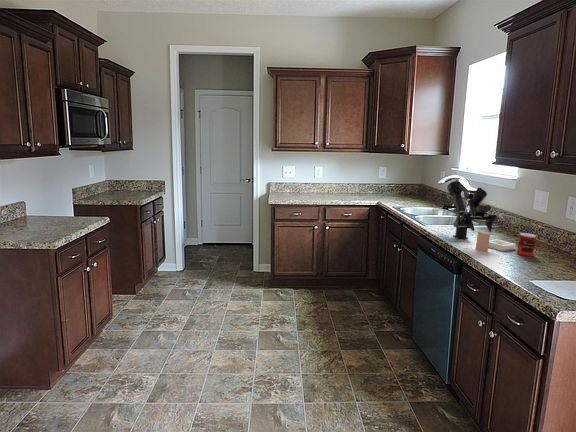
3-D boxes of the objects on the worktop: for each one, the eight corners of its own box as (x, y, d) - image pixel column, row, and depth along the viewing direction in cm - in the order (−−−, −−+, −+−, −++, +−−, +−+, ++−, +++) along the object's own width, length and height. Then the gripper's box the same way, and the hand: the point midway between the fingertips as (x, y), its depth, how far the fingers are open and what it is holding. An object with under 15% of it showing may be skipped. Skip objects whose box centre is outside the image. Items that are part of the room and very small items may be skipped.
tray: (484, 246, 236) (485, 241, 235) (496, 244, 242) (497, 239, 241) (503, 251, 227) (504, 245, 226) (514, 249, 232) (515, 244, 232)
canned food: (524, 252, 227) (527, 232, 225) (536, 256, 219) (540, 236, 217) (513, 253, 224) (516, 233, 222) (525, 257, 217) (528, 236, 215)
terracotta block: (475, 248, 230) (477, 231, 228) (483, 248, 230) (486, 231, 229) (479, 250, 226) (481, 233, 224) (487, 251, 226) (490, 233, 224)
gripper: (464, 198, 230) (471, 222, 221) (498, 200, 231) (506, 223, 222) (457, 210, 239) (463, 233, 231) (489, 211, 240) (496, 234, 231)
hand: (482, 231), depth 228 cm, fingers open, 9 cm apart
